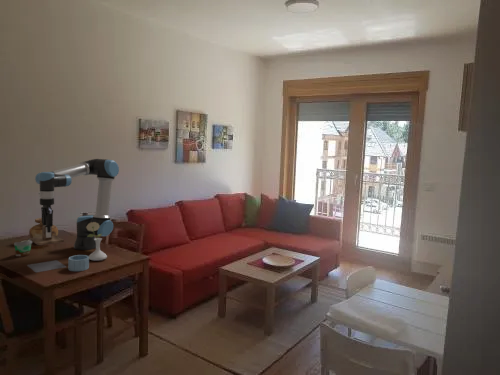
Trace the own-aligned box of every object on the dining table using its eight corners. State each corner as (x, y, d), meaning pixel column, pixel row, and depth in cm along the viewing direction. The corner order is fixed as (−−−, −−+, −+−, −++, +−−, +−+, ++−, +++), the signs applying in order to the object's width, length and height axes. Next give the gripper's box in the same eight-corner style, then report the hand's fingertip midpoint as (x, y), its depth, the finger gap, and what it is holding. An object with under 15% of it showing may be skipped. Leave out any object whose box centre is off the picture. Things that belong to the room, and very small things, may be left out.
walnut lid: (55, 237, 234) (55, 222, 234) (63, 241, 225) (63, 226, 224) (30, 240, 224) (30, 225, 224) (37, 245, 215) (37, 229, 214)
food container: (22, 258, 239) (22, 243, 238) (14, 257, 240) (13, 242, 239) (36, 253, 251) (36, 238, 250) (28, 252, 252) (28, 238, 251)
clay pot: (20, 238, 274) (30, 212, 278) (43, 243, 289) (52, 218, 294) (36, 242, 265) (46, 215, 269) (58, 247, 280) (68, 222, 285)
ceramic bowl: (84, 264, 233) (84, 254, 232) (91, 269, 225) (91, 258, 225) (65, 268, 225) (65, 257, 224) (72, 273, 217) (72, 261, 217)
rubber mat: (56, 260, 238) (56, 260, 238) (66, 267, 226) (66, 266, 226) (26, 265, 226) (26, 265, 226) (35, 273, 214) (35, 272, 214)
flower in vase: (108, 257, 252) (109, 220, 249) (105, 262, 241) (105, 223, 238) (88, 256, 249) (88, 220, 247) (83, 262, 238) (83, 223, 236)
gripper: (35, 196, 225) (35, 234, 228) (44, 200, 213) (45, 240, 216) (48, 195, 231) (49, 233, 233) (58, 199, 219) (58, 238, 221)
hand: (47, 236), depth 224 cm, fingers closed on walnut lid, 4 cm apart
